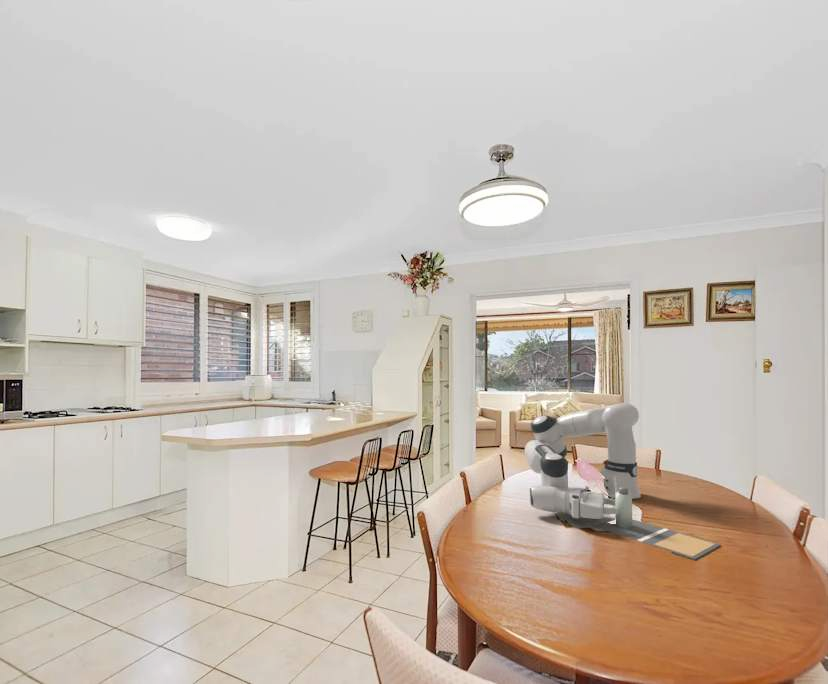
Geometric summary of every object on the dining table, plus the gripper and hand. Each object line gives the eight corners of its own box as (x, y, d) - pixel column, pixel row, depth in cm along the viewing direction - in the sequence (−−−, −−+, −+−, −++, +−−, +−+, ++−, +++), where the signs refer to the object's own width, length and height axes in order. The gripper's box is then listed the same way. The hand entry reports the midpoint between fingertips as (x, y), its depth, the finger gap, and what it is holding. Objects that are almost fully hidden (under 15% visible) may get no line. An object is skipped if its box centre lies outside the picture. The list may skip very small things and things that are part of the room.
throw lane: (593, 527, 156) (593, 526, 156) (621, 517, 167) (621, 515, 167) (694, 560, 130) (694, 558, 130) (720, 545, 141) (720, 544, 141)
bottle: (612, 525, 157) (612, 487, 158) (620, 522, 160) (620, 485, 161) (627, 529, 153) (626, 491, 153) (635, 526, 156) (634, 488, 157)
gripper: (577, 502, 172) (618, 507, 167) (573, 519, 154) (618, 525, 148) (577, 485, 172) (617, 490, 167) (573, 500, 154) (618, 506, 148)
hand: (618, 507), depth 157 cm, fingers open, 8 cm apart
